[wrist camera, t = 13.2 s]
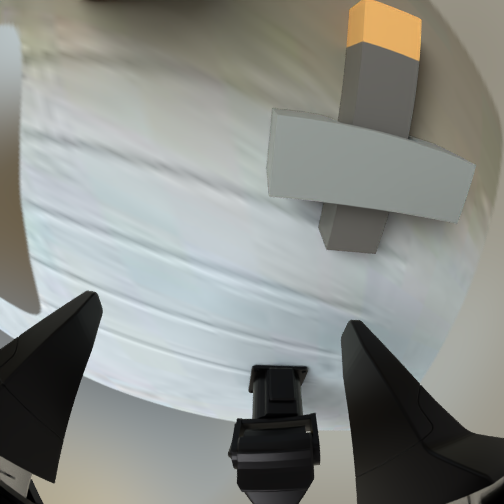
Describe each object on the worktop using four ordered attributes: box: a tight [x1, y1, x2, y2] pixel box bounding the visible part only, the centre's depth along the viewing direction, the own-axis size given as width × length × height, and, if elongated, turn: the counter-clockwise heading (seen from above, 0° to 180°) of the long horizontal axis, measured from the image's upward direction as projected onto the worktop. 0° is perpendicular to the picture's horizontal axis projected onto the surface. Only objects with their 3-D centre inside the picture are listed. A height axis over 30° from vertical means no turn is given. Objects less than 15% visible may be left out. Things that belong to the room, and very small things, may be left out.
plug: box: [318, 0, 421, 254], centre depth 14 cm, size 16×4×3 cm, turn 176°
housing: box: [266, 108, 476, 224], centre depth 14 cm, size 4×12×5 cm, turn 86°
